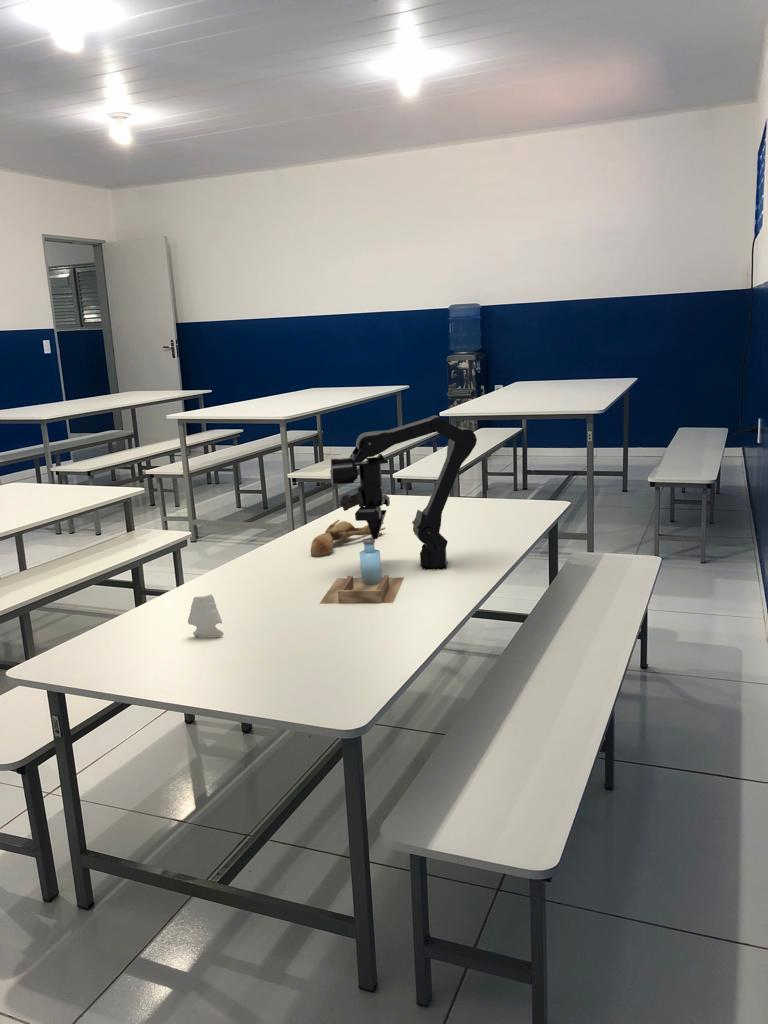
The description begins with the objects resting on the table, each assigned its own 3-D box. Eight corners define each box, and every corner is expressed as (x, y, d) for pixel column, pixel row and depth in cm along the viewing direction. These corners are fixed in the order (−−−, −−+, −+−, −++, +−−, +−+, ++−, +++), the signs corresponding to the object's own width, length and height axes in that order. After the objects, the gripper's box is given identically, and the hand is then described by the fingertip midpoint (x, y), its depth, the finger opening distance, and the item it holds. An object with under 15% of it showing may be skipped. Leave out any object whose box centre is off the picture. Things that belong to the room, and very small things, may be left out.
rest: (404, 579, 219) (403, 566, 218) (393, 605, 200) (392, 590, 199) (337, 580, 222) (336, 567, 222) (319, 605, 203) (318, 591, 202)
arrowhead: (187, 639, 187) (182, 596, 185) (191, 635, 189) (186, 592, 187) (222, 639, 186) (217, 595, 183) (226, 635, 188) (221, 592, 186)
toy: (339, 541, 276) (287, 555, 250) (339, 515, 275) (286, 527, 249) (386, 545, 268) (337, 559, 242) (386, 518, 267) (337, 530, 241)
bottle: (383, 578, 219) (380, 536, 217) (380, 584, 214) (377, 542, 212) (363, 578, 220) (360, 537, 218) (360, 585, 215) (356, 542, 213)
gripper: (347, 475, 230) (352, 531, 234) (333, 489, 212) (338, 549, 216) (388, 474, 228) (392, 529, 232) (376, 488, 210) (381, 548, 214)
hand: (375, 538), depth 223 cm, fingers closed
